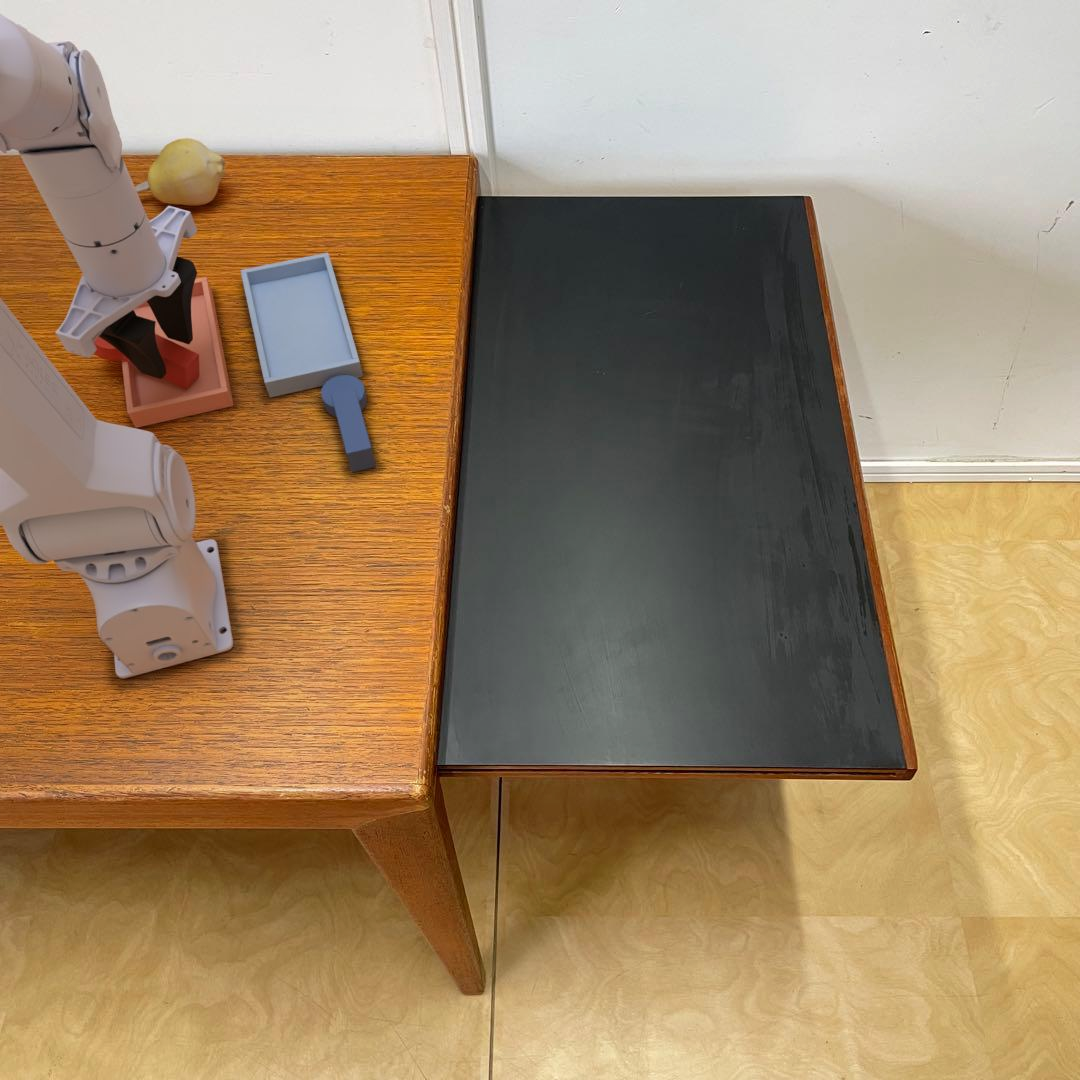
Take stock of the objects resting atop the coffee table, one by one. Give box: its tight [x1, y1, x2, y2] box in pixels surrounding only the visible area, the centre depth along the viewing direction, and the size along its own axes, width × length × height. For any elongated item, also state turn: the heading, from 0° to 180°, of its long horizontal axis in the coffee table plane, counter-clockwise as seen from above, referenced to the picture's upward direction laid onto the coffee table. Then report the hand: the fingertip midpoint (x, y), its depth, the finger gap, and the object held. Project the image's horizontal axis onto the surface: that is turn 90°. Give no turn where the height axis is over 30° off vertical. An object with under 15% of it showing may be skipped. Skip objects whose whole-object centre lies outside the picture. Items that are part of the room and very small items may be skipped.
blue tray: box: [240, 252, 364, 398], centre depth 81 cm, size 14×8×2 cm, turn 18°
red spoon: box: [93, 334, 199, 389], centre depth 76 cm, size 9×4×3 cm, turn 68°
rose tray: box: [121, 276, 235, 429], centre depth 79 cm, size 14×8×2 cm, turn 18°
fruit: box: [134, 137, 226, 207], centre depth 88 cm, size 6×6×10 cm
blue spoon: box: [320, 375, 377, 473], centre depth 75 cm, size 9×4×3 cm, turn 18°
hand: (167, 355), depth 75 cm, fingers open, 3 cm apart
